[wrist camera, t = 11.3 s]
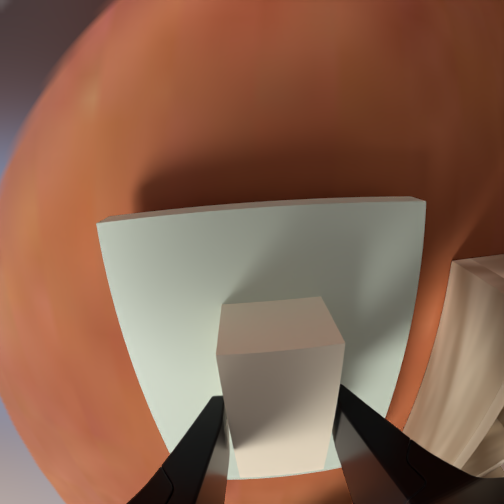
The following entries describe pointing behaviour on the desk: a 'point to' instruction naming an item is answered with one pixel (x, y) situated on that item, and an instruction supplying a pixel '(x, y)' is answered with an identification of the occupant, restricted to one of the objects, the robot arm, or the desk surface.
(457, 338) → the beige piece
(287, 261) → the lid
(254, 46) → the desk surface
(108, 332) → the desk surface
